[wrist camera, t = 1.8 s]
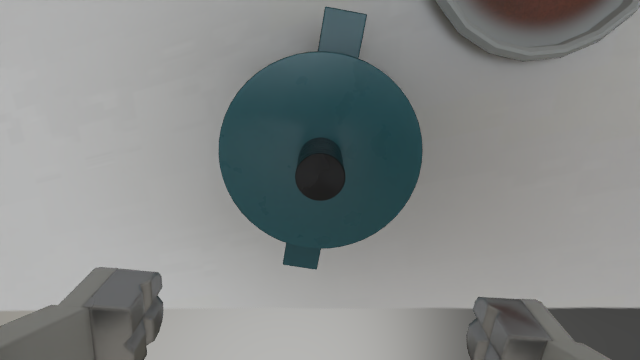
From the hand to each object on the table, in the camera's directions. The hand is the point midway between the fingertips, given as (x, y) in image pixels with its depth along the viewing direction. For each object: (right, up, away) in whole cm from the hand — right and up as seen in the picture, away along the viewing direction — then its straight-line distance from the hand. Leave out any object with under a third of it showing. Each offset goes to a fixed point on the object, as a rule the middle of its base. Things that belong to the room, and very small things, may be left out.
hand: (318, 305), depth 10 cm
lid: (0, +5, +14) cm, 15 cm away
